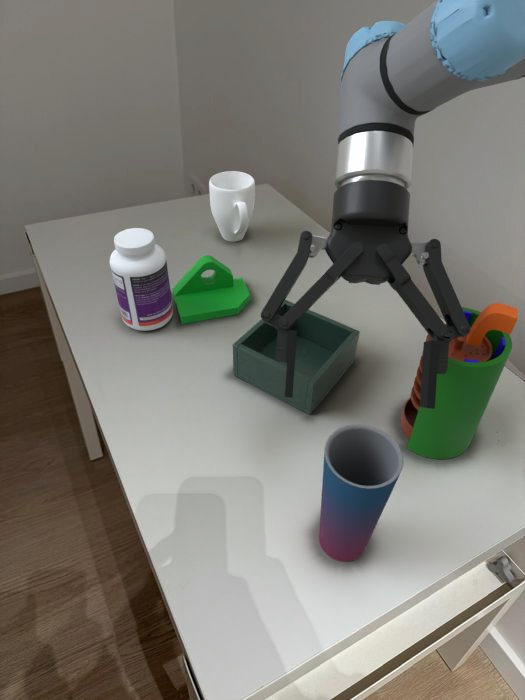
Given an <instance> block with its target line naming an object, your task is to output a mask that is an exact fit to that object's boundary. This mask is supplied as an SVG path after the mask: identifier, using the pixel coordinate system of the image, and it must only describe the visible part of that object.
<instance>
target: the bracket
mask: <svg viewBox="0 0 525 700" xmlns="http://www.w3.org/2000/svg"><path fill="white" fill-rule="evenodd" d="M206 271H213V273H212V274H210V276H202V275H203V274H204V273H205V272H206ZM171 291H172V296H173V299H174V303H175V307H176V310H177V314H178V317H179V320H180V324H181V325H184V324H190V323H196V322H202V321H208V320H215V319H219V318H226V317H231V316H237V315H239V314H240V313H241V312H242V310H243V309H244V308H245V307H246V306H247V305H248V304H249V303H250V302H251V293H250V290H249V288H248V287H247V284H246V282H245V280H244V278H243V277H238V278H234V275H233V273H232V269H230V268H229V267H228V266H226V265H225V264H223V262H221V261H219V260H218V259H216V258H215V257H213V256H212V255H210V254H207V255H206V254H205V255H203V256H201V257H199V259H198V260H197V261H196V262H195V264H194V265H193V266H192V267H191V268H190V269H189V270H188V271H187V272H186V273H185V274H184V275H183V276H182V278H181V279H180V280H179V281H177V283H176V284H175V285H174V286H173V287H172V290H171Z"/></svg>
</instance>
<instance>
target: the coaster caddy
mask: <svg viewBox="0 0 525 700" xmlns="http://www.w3.org/2000/svg"><path fill="white" fill-rule="evenodd" d="M461 307H462V309H463V312H464V314H465V316H466V319H467V321H468V323H469V326H470V332H469V334H467V335H464V336H461V337H457V338H454V339H452V340H451V341H450V343H449V353H448V369H447V371H446V373H445V374H437V382H436V398H435V409H431V408H424V407H420V393H421V377H422V362H423V352H421V353H422V354H421V357H420V360H419V363H418V367H417V369H416V374H415V377H414V379H413V384H412V387H411V391H410V397H409V398H408V399H407V400H406V401H405V403H404V406H403V410H402V413H401V416H400V426H401V430H402V432H403V434H404V435H405V437H406V438H407V439H408V443H407V446H406V449H408V450H410V451H411V452H413V454H414V453H415V454H417V455H419V456H421V457H425V458H428V459H432V460H433V459H434V460H449V459H453V458H456V457H458V456H460V455H463V453H465V452H466V451H467V449H468V448H469V447H470V445H471V443H472V441H473V439H474V436H475V435H476V432H477V429H478V427H479V425H480V424H481V423H480V422H481V420H482V418H483V416H484V413H485V412H486V409H487V407H488V405H489V403H490V400H491V398H492V396H493V393H494V391H495V388H496V386H497V384H498V382H499V379H500V378H501V375H502V373H503V371H504V369H505V366H506V363H507V362H508V359H509V357H510V355H511V352H512V350H513V341H512V337H511V335H512V332H513V330H514V328H515V326H516V324H517V321H518V316H519V315H518V314H519V309H518V308H516V307H515V306H511V305H508V304H505V303H500V302H494V303H491V304H489V305H488V306H486V307H485V308H484V309H483V310H482V311H479V310H476V309H473V308H469V307H466V306H465V307H464V306H461ZM444 324H445V325H446V326H447V324H446V323H444ZM431 340H432V341H433V339H432V338H431V337H430V335H429V334H428V333H427V335H426V338H425V342H426V341H431Z"/></svg>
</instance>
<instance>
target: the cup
mask: <svg viewBox="0 0 525 700" xmlns="http://www.w3.org/2000/svg"><path fill="white" fill-rule="evenodd" d="M403 468H404V455H403V453H402V449H401V447H400V446H399V444H398V443H397V442H396V440H395V439H394V438H393V437H392V436H391V435H390V434H388V432H386V431H384V430H382V429H380V428H378V427H376V426H373V425H369V424H362V423H352V424H348V425H347V424H346V425H344V426H342V427H339V428H338V429H336V430H334V431H333V432H332V433H331V434H330V435H329V437H328V438H327V439H326V442H325V445H324V453H323V468H322V469H323V470H322V485H321V502H320V515H319V516H320V517H319V531H318V532H319V533H318V540H319V544H320V547H321V548H322V550H323V551H324V553H325V554H326V555H327V556H328V557H330V558H332V559H334V560H335V561H339V562H345V563H346V562H352V561H355V560H357V559H359V558H360V557H361V556H362V555H363V554H364V552H365V550H366V548H367V546H368V544H369V541H370V540H371V537H372V536H373V533H374V532H375V528H376V526H377V525H378V522H379V520H380V518H381V517H382V513H383V511H384V509H385V507H386V505H387V503H388V501H389V499H390V496H391V494H392V493H393V490H394V488H395V486H396V484H397V481H398V480H399V478H400V476H401V473H402V471H403Z"/></svg>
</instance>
